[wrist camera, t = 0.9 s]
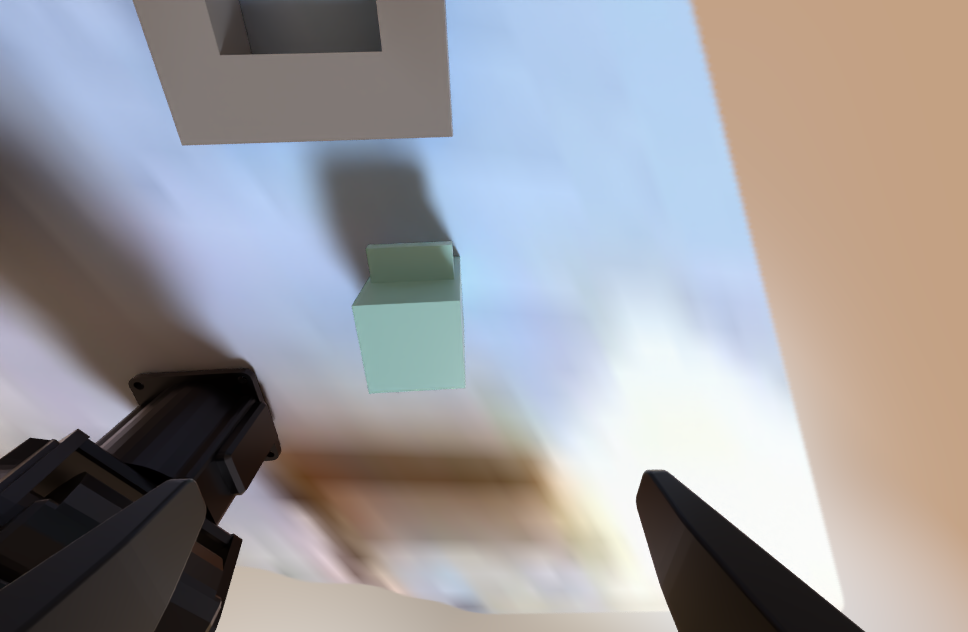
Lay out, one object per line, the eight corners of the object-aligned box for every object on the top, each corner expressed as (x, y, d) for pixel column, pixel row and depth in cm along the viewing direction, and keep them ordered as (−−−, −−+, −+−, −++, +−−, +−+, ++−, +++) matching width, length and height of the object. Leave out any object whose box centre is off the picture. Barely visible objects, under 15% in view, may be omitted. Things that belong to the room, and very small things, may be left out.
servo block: (394, 353, 22) (374, 421, 17) (375, 229, 19) (343, 267, 13) (465, 349, 22) (467, 415, 17) (458, 226, 19) (457, 262, 14)
